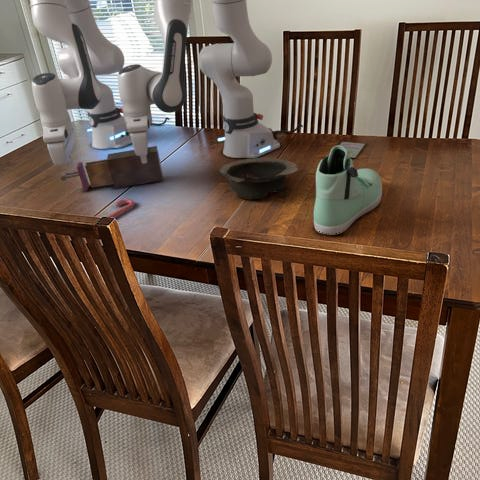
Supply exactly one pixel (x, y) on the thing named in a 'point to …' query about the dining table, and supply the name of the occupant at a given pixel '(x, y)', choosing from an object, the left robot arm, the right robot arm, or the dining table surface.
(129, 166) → the cabinet
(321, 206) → the sneaker
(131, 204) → the candy cane
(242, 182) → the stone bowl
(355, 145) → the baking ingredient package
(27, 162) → the dining table surface
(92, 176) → the drawer
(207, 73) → the right robot arm
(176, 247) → the dining table surface
